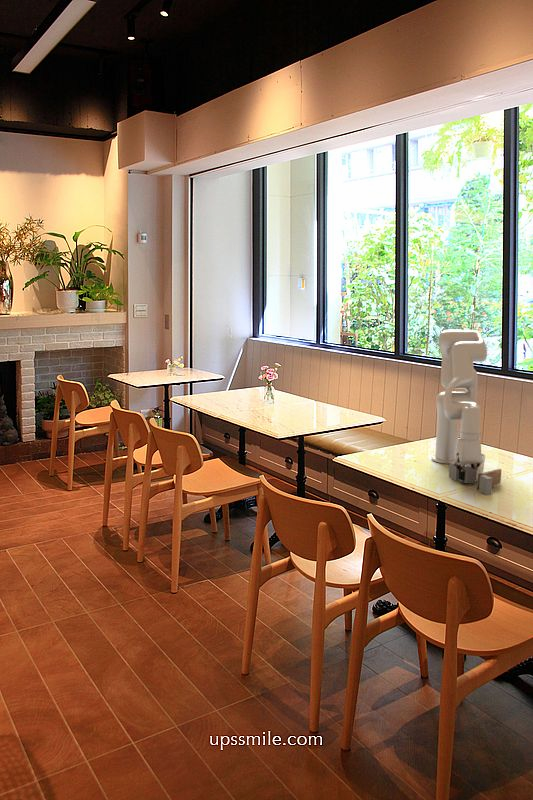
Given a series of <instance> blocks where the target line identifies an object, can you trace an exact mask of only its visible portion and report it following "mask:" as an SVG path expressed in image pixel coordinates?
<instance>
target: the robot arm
mask: <svg viewBox="0 0 533 800" xmlns="http://www.w3.org/2000/svg"><path fill="white" fill-rule="evenodd" d="M438 335H439V336H438V347H439V350H440V351H439V352H440V354H441V366H440V367H441V369H440V371H441V372H440V384H441V386H442V387H443V388H445V390H444V391H442V392H439V393H438V394H437V396H436V403H435V404H436V412H437V413H436V415H437V420H436V439H435V454H434V455H432V456H431V460H432V461H433V462H436V463H440V464H447V465H448V464H449V465H450V462H453V463H452V464H453V465H454V466H455V467H456V468H457V469H458V470H459V475H458V478H459V480H458V481H461V482H463V481H464V478H465V472H464V468H465V465H466V464H471V468H473V469H475V470H477V468H478V467H479V466H480V464H482V463H483V459H482V458H481V453H482V445H481V439H480V436H482V432H480V431H481V417H482V409H481V407H480V405H479V404H478V403H477V400H478V385H479V384H478V383H479V378H478V371H477V370H476V369H475V368H474V362H477V363H480V362H485V360H487V356H488V349H487V344H486V342H485V339H484V338H483V335H482V334H481V332H480V331H478V330H477V329H476V330H475V329H446V330H443V331H441V332H440V333H439V334H438ZM459 389H460V390H465V391H454V390H459ZM459 421H460V424H459ZM459 426H460V428H459ZM459 430H460V431H459ZM457 463H459V465H458V464H457ZM461 466H462V467H461Z"/></svg>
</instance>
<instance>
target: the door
mask: <svg viewBox="0 0 533 800" xmlns="http://www.w3.org/2000/svg"><path fill="white" fill-rule="evenodd" d="M481 475H486V476H488V477H491V478H492V487H493V486H497V485H501V482H502V481H501V480H502V468H497V469H493V470H492V469H491V470H489V471H486V472H485V471H484V472H483V473H479V474H478V480H477V483H476V484H477V487H476V489H477V491H479V482H480V476H481Z"/></svg>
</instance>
